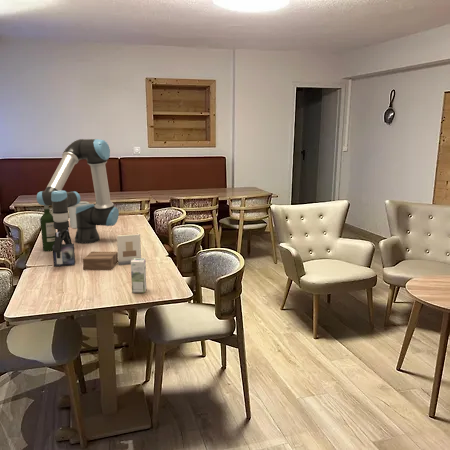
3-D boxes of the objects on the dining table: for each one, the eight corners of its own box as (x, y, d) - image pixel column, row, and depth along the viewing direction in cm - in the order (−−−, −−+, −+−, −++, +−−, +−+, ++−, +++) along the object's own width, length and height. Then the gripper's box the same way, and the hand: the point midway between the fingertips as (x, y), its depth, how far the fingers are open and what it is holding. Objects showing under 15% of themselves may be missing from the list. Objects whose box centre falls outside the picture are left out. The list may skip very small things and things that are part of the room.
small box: (53, 267, 228) (51, 247, 226) (54, 263, 234) (52, 244, 232) (74, 265, 231) (73, 246, 228) (75, 261, 237) (74, 243, 235)
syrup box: (146, 288, 197) (145, 257, 194) (144, 293, 192) (143, 261, 189) (134, 288, 197) (132, 257, 194) (131, 293, 191) (130, 261, 188)
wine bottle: (52, 251, 256) (48, 200, 249) (40, 251, 257) (35, 200, 251) (60, 248, 263) (55, 198, 257) (48, 247, 265) (43, 198, 258)
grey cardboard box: (118, 262, 236) (116, 234, 233) (140, 260, 240) (139, 233, 236) (118, 265, 231) (117, 237, 227) (141, 263, 234) (140, 235, 231)
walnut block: (92, 262, 237) (91, 251, 236) (118, 262, 237) (117, 251, 235) (83, 270, 223) (82, 259, 222) (111, 270, 223) (110, 259, 222)
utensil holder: (68, 225, 325) (66, 202, 321) (89, 223, 331) (87, 200, 328) (70, 229, 312) (68, 205, 308) (92, 227, 318) (90, 203, 314)
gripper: (61, 216, 239) (64, 253, 244) (44, 225, 215) (48, 267, 219) (75, 216, 240) (78, 253, 244) (60, 225, 215) (63, 267, 220)
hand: (64, 260), depth 232 cm, fingers open, 13 cm apart
